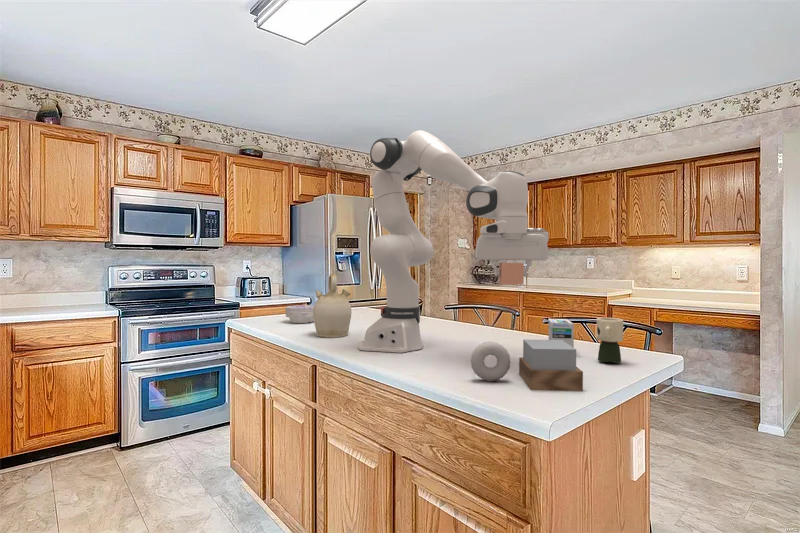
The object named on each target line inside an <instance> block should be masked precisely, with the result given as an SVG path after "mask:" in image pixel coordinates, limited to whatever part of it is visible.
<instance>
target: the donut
mask: <svg viewBox="0 0 800 533" xmlns="http://www.w3.org/2000/svg"><path fill="white" fill-rule="evenodd" d="M489 356H493V357H495V358H496V363H495V365H494V366H491V367H489V366H487V365H486V364H485V359H486V358H487V357H489ZM470 366H471V369H472V371H473V373H474V374H475V375H476V376H477V377H478V378H479V379H481V380H483V381H488V382H493V381H498V380H501V379H502V378H503V377H505V376H506V375H507V374H508V372H509V370H510V368H511V356H510V353H509V352H508V350H507V348H505V347H504V346H503V345H502V344H501V343H498V342H495V341H486V342H485V341H484V342H482V343H481V344H478V345H477V346H476V347H475V349H474V350H473V352H472V353H471V358H470Z"/></svg>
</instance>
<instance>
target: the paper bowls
mask: <svg viewBox="0 0 800 533" xmlns="http://www.w3.org/2000/svg"><path fill="white" fill-rule="evenodd" d="M314 305H315V304H299V305H298V304H297V305H287V306H286V307H285V317H286V318H288V319H289V321H290V322H291V323H292V324H309V323H308V322H311V323H312V322H314V317H313V308H314Z"/></svg>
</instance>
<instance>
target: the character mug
mask: <svg viewBox="0 0 800 533" xmlns="http://www.w3.org/2000/svg"><path fill="white" fill-rule="evenodd" d="M596 339H597V340H599V341H601V342H600V344H599V348H598V355H597V356H598V357H597V361H599V362H603V363H605V362H606V363H607V364H610V363H621V362H622V357H621V355H622V354H621V349H620V348H621V347H620V344H619V342H623V341H624V340H623V339H624V319H622V318H618V317H617V318H616V317H597V318H596Z"/></svg>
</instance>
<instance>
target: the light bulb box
mask: <svg viewBox="0 0 800 533" xmlns="http://www.w3.org/2000/svg"><path fill="white" fill-rule="evenodd" d="M547 321H548V325H547V326H548V340H563V341H564V342H566V343H567V344H569V345H570V346H572V347H573V348H575V347H574V345H575V344H574V338H575V336H574V331H575V326H574V323H573V322H572V321H570V320H569V319H568V318H548V320H547Z"/></svg>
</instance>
